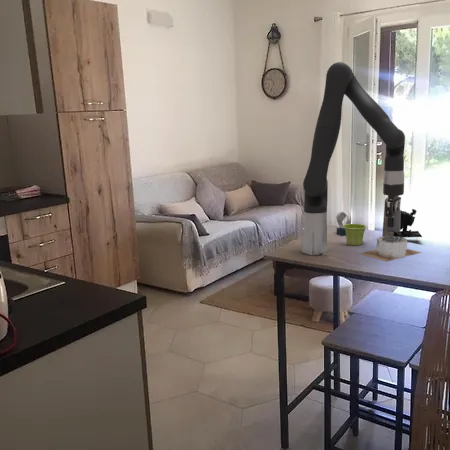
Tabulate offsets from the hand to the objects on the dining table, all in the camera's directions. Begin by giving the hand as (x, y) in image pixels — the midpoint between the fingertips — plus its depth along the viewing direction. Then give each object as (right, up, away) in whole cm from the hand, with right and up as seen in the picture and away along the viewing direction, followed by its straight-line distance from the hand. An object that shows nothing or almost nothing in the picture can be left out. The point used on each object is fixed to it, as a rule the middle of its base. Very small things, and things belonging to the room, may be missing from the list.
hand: (392, 225), depth 193 cm
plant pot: (-9, -9, +21) cm, 25 cm away
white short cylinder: (0, -11, +2) cm, 12 cm away
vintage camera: (+12, -8, +24) cm, 28 cm away
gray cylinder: (0, -2, 0) cm, 2 cm away
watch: (-9, -5, +42) cm, 43 cm away
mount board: (0, -12, +4) cm, 13 cm away
